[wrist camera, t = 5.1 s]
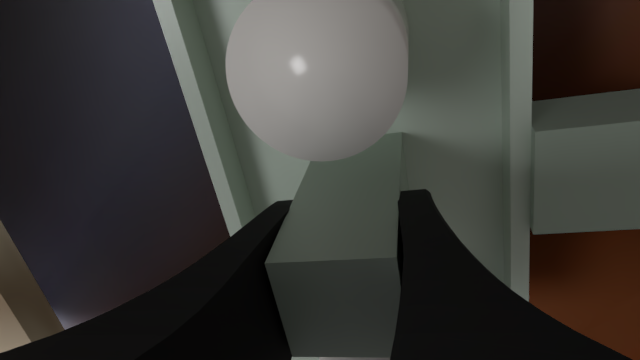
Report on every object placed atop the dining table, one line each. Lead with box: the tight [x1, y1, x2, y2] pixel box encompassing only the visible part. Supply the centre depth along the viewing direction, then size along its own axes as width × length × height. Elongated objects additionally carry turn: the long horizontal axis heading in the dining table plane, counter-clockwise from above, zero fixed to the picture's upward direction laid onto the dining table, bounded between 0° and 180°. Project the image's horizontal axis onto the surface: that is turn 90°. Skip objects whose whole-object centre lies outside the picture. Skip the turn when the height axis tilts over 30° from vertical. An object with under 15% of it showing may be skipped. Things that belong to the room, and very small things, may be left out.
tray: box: [153, 0, 640, 360], centre depth 11 cm, size 14×14×7 cm
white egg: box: [226, 0, 409, 162], centre depth 10 cm, size 3×3×4 cm
